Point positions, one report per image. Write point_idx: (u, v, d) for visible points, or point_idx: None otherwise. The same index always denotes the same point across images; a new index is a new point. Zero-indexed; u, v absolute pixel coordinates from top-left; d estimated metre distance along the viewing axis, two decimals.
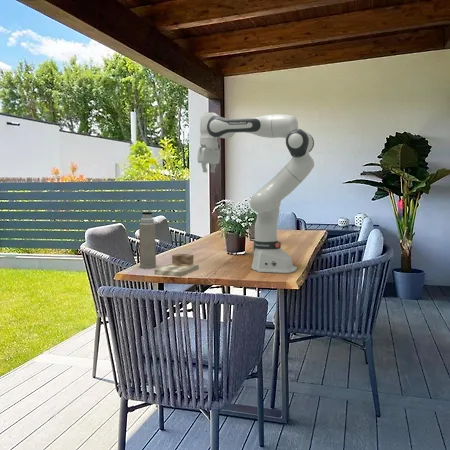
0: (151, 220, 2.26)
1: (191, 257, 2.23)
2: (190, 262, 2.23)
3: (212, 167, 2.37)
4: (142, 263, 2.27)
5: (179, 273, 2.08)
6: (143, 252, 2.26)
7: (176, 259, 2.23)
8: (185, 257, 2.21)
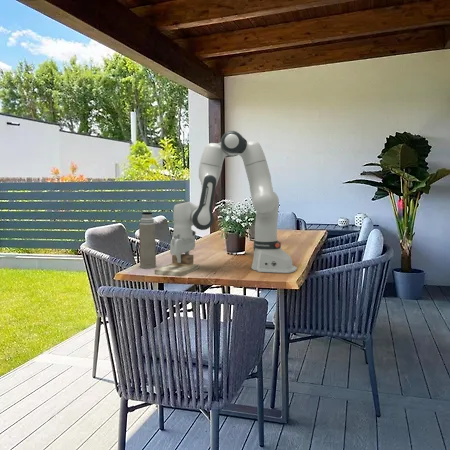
0: (151, 220, 2.26)
1: (191, 257, 2.23)
2: (190, 262, 2.23)
3: None
4: (142, 263, 2.27)
5: (179, 273, 2.08)
6: (143, 252, 2.26)
7: (176, 259, 2.23)
8: (185, 257, 2.21)
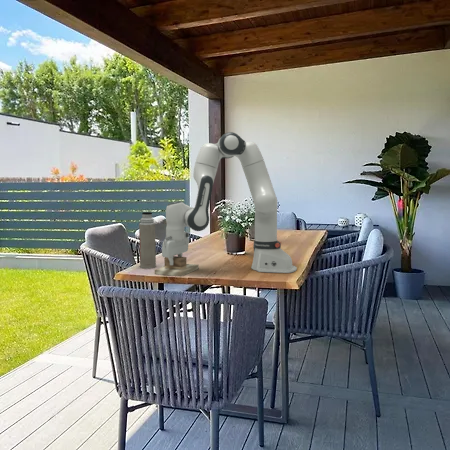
0: (151, 220, 2.26)
1: (184, 259, 2.17)
2: (183, 265, 2.16)
3: None
4: (142, 263, 2.27)
5: (179, 273, 2.08)
6: (143, 252, 2.26)
7: (168, 262, 2.16)
8: (178, 259, 2.14)
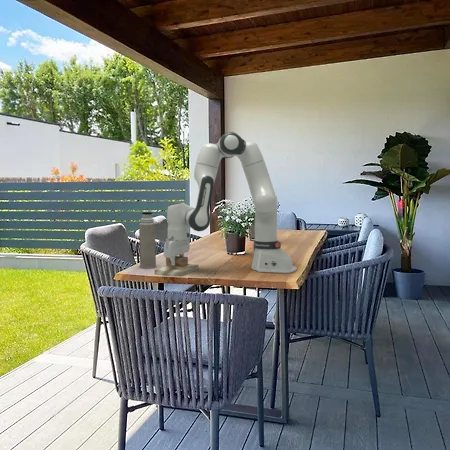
0: (151, 220, 2.26)
1: (185, 259, 2.17)
2: (185, 264, 2.17)
3: None
4: (142, 263, 2.27)
5: (179, 273, 2.08)
6: (143, 252, 2.26)
7: (170, 262, 2.17)
8: (179, 259, 2.15)
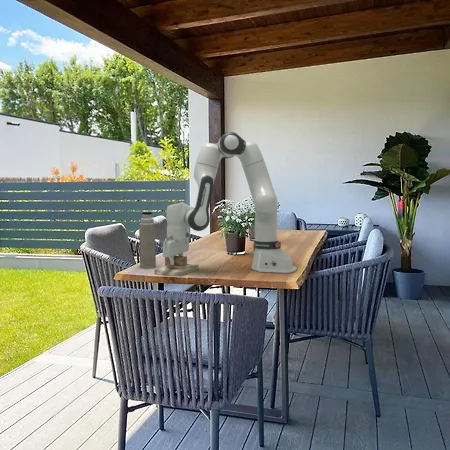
0: (151, 220, 2.26)
1: (184, 259, 2.17)
2: (184, 264, 2.17)
3: None
4: (142, 263, 2.27)
5: (179, 273, 2.08)
6: (143, 252, 2.26)
7: (169, 261, 2.17)
8: (178, 258, 2.15)
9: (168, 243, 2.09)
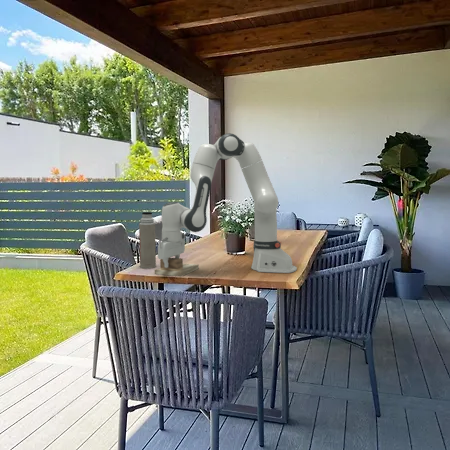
0: (151, 220, 2.26)
1: (180, 261, 2.13)
2: (179, 266, 2.12)
3: None
4: (142, 263, 2.27)
5: (179, 273, 2.08)
6: (143, 252, 2.26)
7: None
8: (174, 261, 2.10)
9: (163, 245, 2.04)
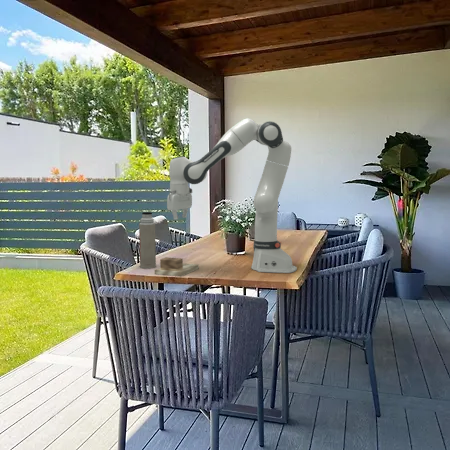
0: (151, 220, 2.26)
1: (180, 261, 2.13)
2: (179, 266, 2.12)
3: (184, 212, 2.26)
4: (142, 263, 2.27)
5: (179, 273, 2.08)
6: (143, 252, 2.26)
7: (164, 264, 2.12)
8: (174, 261, 2.10)
9: (172, 196, 2.12)
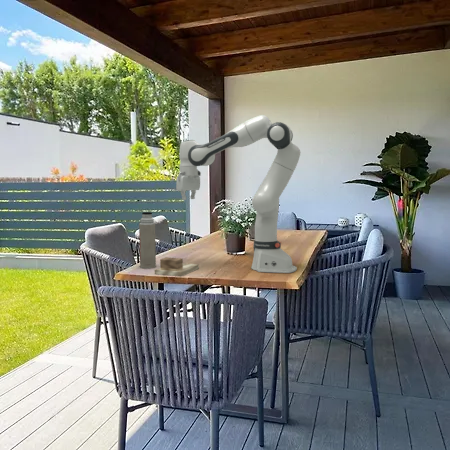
0: (151, 220, 2.26)
1: (180, 261, 2.13)
2: (179, 266, 2.12)
3: (192, 193, 2.37)
4: (142, 263, 2.27)
5: (179, 273, 2.08)
6: (143, 252, 2.26)
7: (164, 264, 2.12)
8: (174, 261, 2.10)
9: (181, 177, 2.22)
